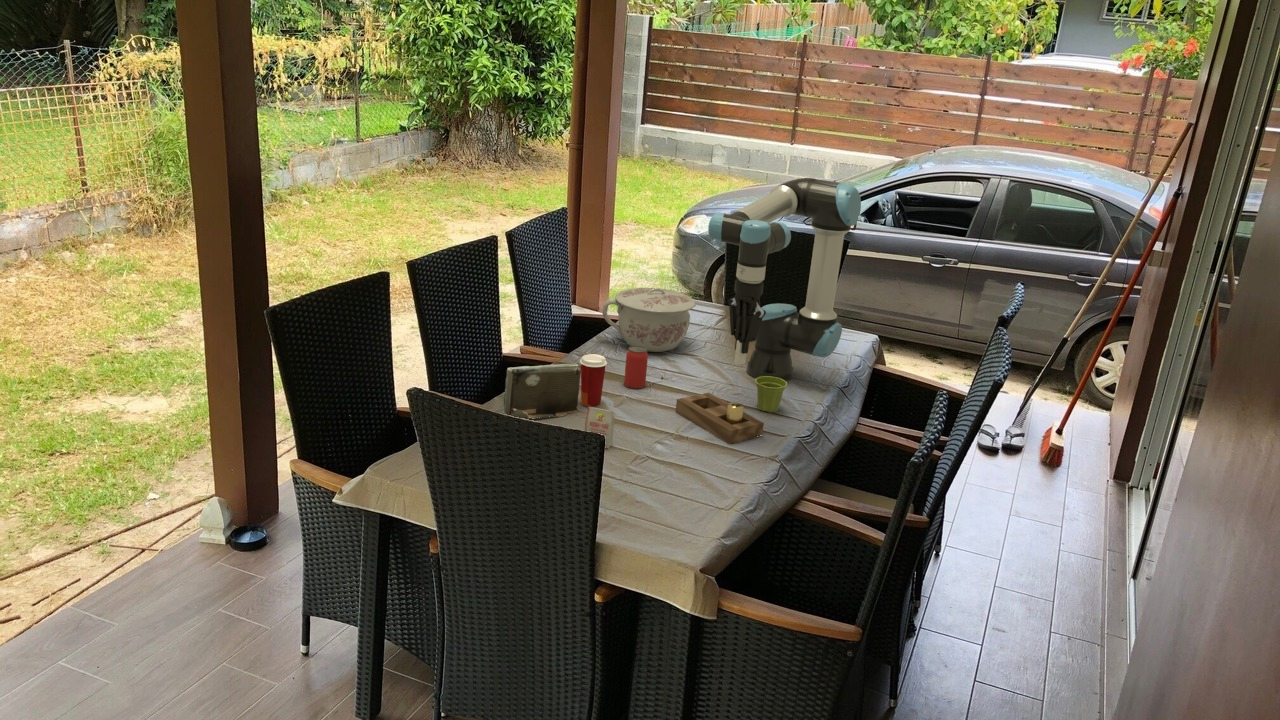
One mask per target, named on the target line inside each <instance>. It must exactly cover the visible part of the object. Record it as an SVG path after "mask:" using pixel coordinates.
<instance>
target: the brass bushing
mask: <svg viewBox="0 0 1280 720" xmlns="http://www.w3.org/2000/svg"><path fill="white" fill-rule="evenodd" d="M727 403H728V407H727V415H726V422H728V423H729V424H731V425H734V424H739V423H742V416H743V412H744V406H745V405H744V404H742V403H741V402H734V401H732V402H731V401H730V402H727Z"/></svg>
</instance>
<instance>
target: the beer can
mask: <svg viewBox="0 0 1280 720" xmlns="http://www.w3.org/2000/svg"><path fill="white" fill-rule="evenodd" d="M648 358H649V354H648V352H647V349H646V348H645V347H642V346H629V347H628V350H627V352H626V358H625V366H624V367H625V369H624V380H623V381H624V382H623V384H624V386H626V387H627V388H629V389H633V390H635V389H636V390H637V389H643V388H644V387H646V380H647V371H648V370H647V369H648Z"/></svg>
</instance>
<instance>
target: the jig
mask: <svg viewBox="0 0 1280 720" xmlns="http://www.w3.org/2000/svg"><path fill="white" fill-rule="evenodd" d="M728 403H729V402H727V401H725V400H723V399H721V398H720V397H718V396H716V395H714V394H713V393H710V392H704V393H700V394H695V395H691V396H686V397H681V398H677V399H676V404H675V413H676V414H678V415H680V416H682V417H683V418H685V419H687V420H688V421H690V422H691V421H692V423H693V424H695V425H696V426H698V427H700V428H701V429H703V430H705V431H706V430H707V431H706V432H708V431H709V432H708V433H709V434H712V435H714V436H715V437H716V438H718V439H720V440H722V441H723V442H725V443H726V442H727V444H728V445H732V444H735V442H736V443H740V442H744V441H747V439H748V440H752V439H755V438H754V437H756V438H758V437H757V436H760V435H762V436H763V431H764V424H765V423H764V422H763V421H762V420H760V419H757V418H756V417H754V416H753V415H751V414H748V413H747V412H745V411H743V416H742V423H739V424H734V425H731V424H729V423H728V422H726V415H727V407H728ZM760 437H761V436H760ZM751 438H752V439H751ZM743 440H744V441H743ZM739 441H740V442H739Z"/></svg>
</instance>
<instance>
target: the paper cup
mask: <svg viewBox="0 0 1280 720" xmlns="http://www.w3.org/2000/svg"><path fill="white" fill-rule="evenodd" d="M579 363H580V370H581V374H580V402H581V403H580V404H582V405H583V406H584V407H587V408H588V407H593V408H597V407H598V405H599V406H601V401H602V393H603V389H604V388H603V387H604V379H605V373H606V366H607V364H608V362H607V360H606V357H605V356H603V355H600V354H594V353H588V354H584V355H582V357H581V359H580V360H579Z"/></svg>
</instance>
